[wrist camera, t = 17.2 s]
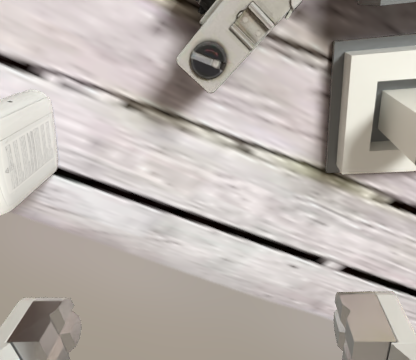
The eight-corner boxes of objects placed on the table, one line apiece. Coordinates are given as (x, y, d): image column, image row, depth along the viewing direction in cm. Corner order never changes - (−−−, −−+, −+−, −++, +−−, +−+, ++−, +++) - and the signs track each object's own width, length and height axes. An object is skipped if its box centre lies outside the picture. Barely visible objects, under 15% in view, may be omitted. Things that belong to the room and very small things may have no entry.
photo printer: (16, 85, 39) (-73, 119, 28) (53, 90, 39) (-22, 126, 28) (29, 167, 44) (-43, 224, 33) (62, 172, 43) (1, 230, 33)
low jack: (333, 41, 34) (341, 45, 31) (491, 26, 32) (514, 28, 29) (325, 170, 40) (331, 183, 37) (456, 164, 38) (473, 176, 35)
